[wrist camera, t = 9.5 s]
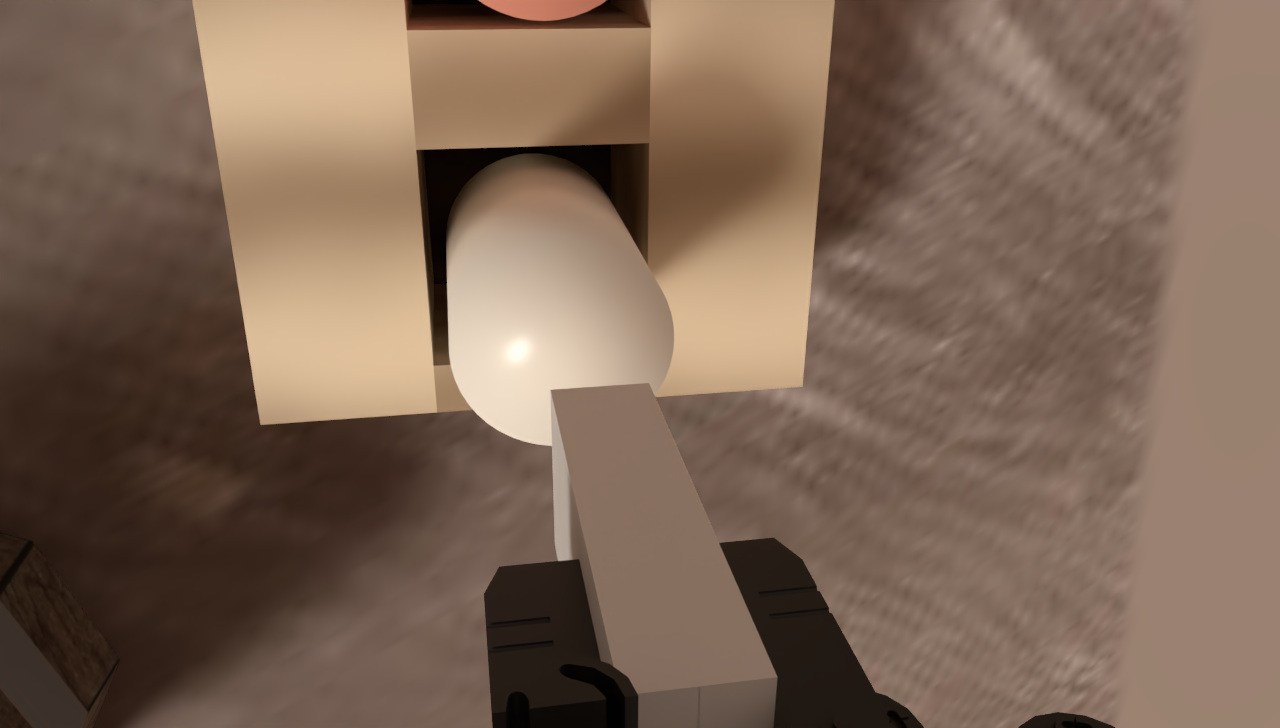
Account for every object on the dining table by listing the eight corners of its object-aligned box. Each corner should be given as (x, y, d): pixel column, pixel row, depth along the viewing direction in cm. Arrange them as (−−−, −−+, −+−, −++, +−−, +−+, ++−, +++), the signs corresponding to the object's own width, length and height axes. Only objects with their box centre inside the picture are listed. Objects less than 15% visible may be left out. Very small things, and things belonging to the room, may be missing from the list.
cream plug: (439, 156, 25) (440, 242, 19) (618, 150, 26) (676, 232, 19) (451, 323, 27) (456, 454, 20) (617, 314, 28) (671, 436, 21)
